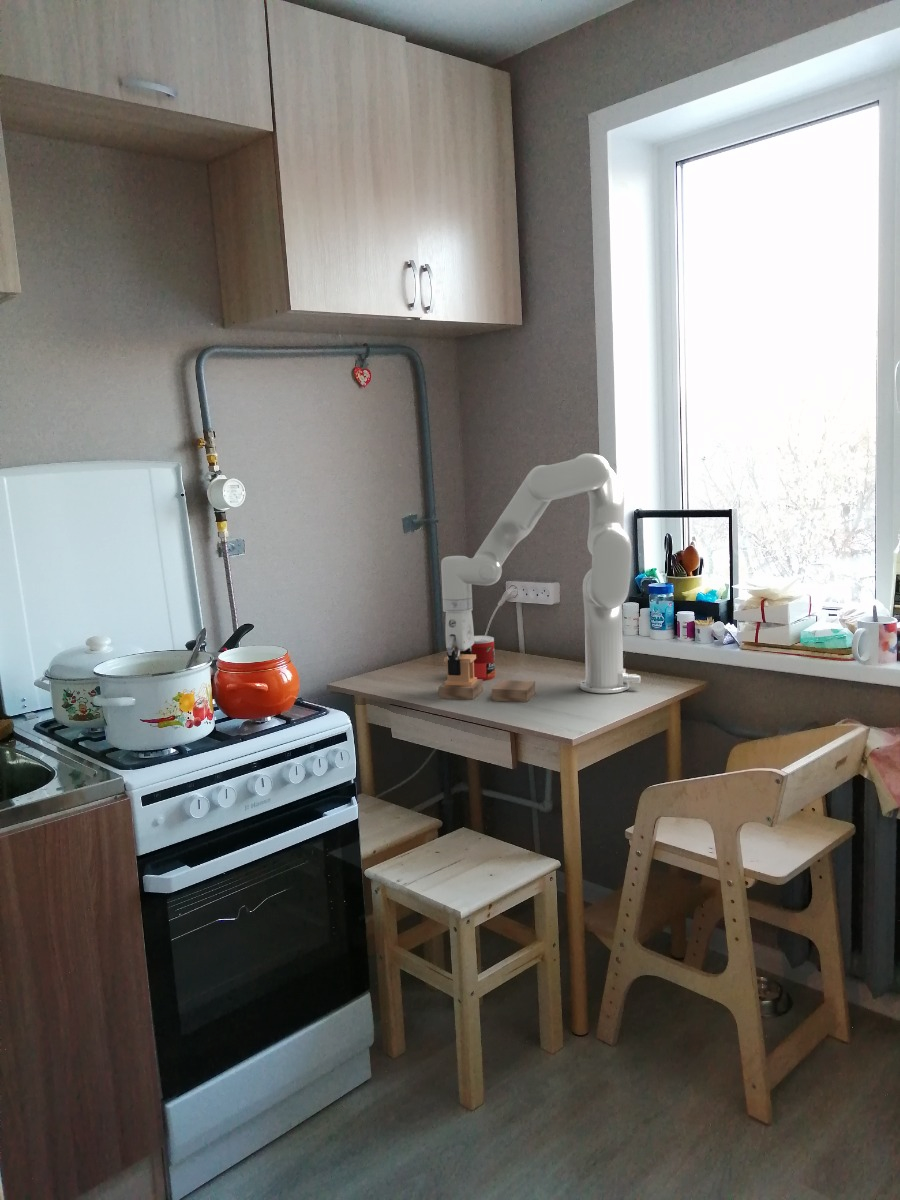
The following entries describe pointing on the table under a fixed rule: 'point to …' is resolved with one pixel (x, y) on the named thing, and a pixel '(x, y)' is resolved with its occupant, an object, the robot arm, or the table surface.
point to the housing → (463, 671)
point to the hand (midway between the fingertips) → (460, 670)
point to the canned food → (484, 657)
